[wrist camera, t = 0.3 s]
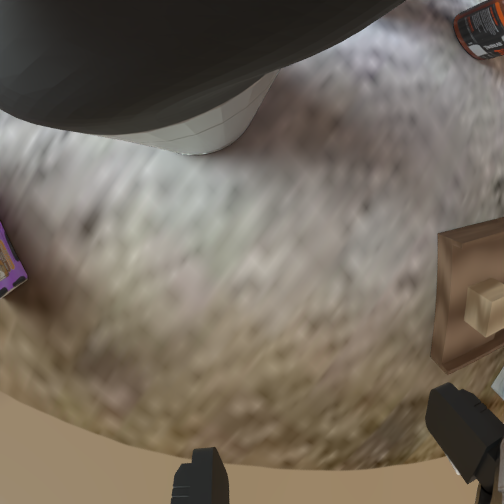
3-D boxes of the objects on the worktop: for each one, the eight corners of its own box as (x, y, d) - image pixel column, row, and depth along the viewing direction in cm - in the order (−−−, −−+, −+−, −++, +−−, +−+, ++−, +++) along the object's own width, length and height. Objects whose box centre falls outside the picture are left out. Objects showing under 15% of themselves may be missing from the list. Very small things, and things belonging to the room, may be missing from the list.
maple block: (467, 286, 26) (492, 302, 22) (491, 277, 26) (515, 290, 22) (463, 320, 27) (485, 337, 23) (487, 309, 27) (509, 324, 23)
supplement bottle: (473, 68, 22) (549, 52, 11) (442, 22, 21) (512, -10, 10) (494, 51, 21) (561, 35, 11) (465, 9, 20) (529, -19, 9)
